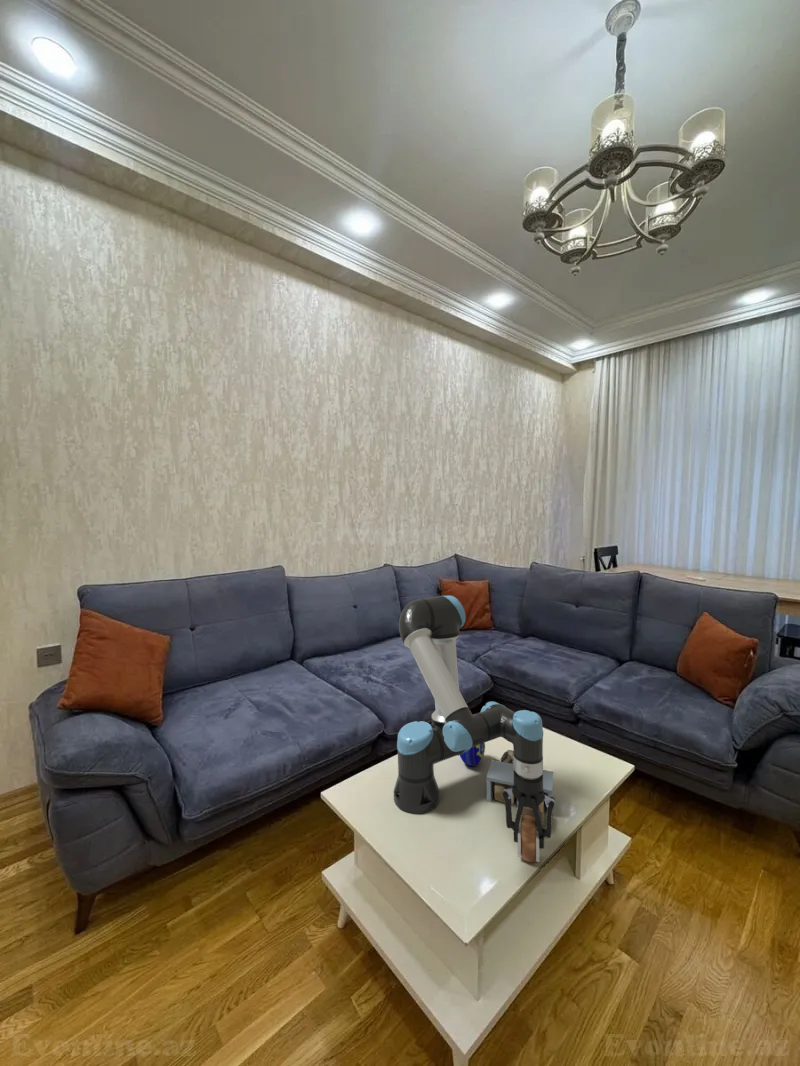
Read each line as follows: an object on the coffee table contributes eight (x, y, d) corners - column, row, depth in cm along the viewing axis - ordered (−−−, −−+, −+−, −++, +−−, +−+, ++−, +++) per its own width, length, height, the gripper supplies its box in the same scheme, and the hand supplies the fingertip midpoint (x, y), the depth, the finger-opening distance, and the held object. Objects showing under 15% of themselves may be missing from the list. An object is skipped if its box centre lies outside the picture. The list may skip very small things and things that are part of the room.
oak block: (494, 800, 139) (494, 785, 139) (497, 788, 145) (497, 774, 144) (513, 804, 137) (513, 789, 137) (516, 792, 142) (516, 778, 142)
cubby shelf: (486, 801, 139) (486, 777, 138) (492, 782, 148) (491, 759, 147) (552, 815, 131) (552, 790, 131) (553, 795, 141) (553, 771, 140)
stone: (522, 787, 145) (523, 766, 145) (496, 769, 155) (496, 750, 155) (536, 780, 149) (537, 760, 149) (510, 763, 159) (510, 744, 159)
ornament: (477, 774, 152) (477, 733, 152) (454, 766, 157) (453, 727, 156) (488, 758, 162) (488, 720, 161) (466, 751, 167) (465, 714, 166)
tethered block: (516, 858, 115) (516, 823, 114) (523, 810, 133) (523, 779, 132) (540, 864, 113) (539, 828, 112) (543, 814, 131) (543, 783, 130)
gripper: (493, 773, 114) (494, 857, 115) (562, 787, 107) (562, 875, 109) (497, 757, 121) (498, 837, 122) (562, 769, 114) (562, 853, 116)
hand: (528, 855), depth 115 cm, fingers closed on tethered block, 4 cm apart
